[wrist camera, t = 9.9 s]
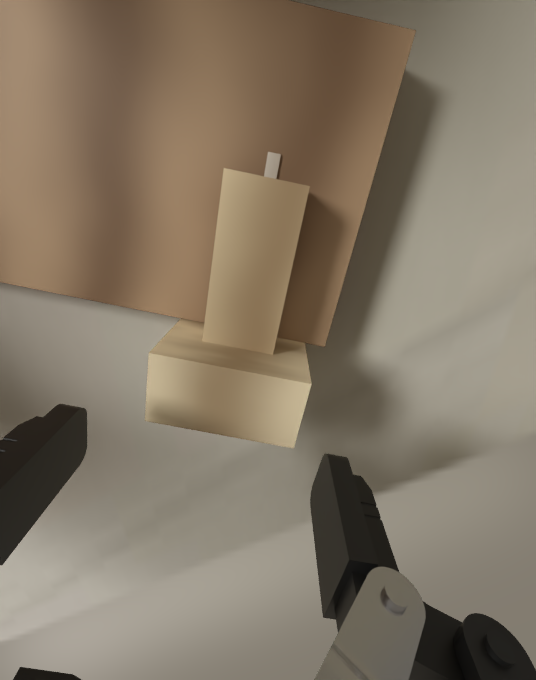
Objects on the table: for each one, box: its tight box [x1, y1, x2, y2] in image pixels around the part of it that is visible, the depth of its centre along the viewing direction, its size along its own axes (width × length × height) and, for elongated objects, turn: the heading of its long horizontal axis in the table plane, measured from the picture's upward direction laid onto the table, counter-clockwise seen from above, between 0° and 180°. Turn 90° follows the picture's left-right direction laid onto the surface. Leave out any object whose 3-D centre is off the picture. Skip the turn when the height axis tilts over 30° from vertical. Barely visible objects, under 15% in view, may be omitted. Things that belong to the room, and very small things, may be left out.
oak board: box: [0, 0, 416, 347], centre depth 14 cm, size 22×12×3 cm, turn 79°
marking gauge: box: [145, 168, 312, 448], centre depth 14 cm, size 6×10×6 cm, turn 169°
